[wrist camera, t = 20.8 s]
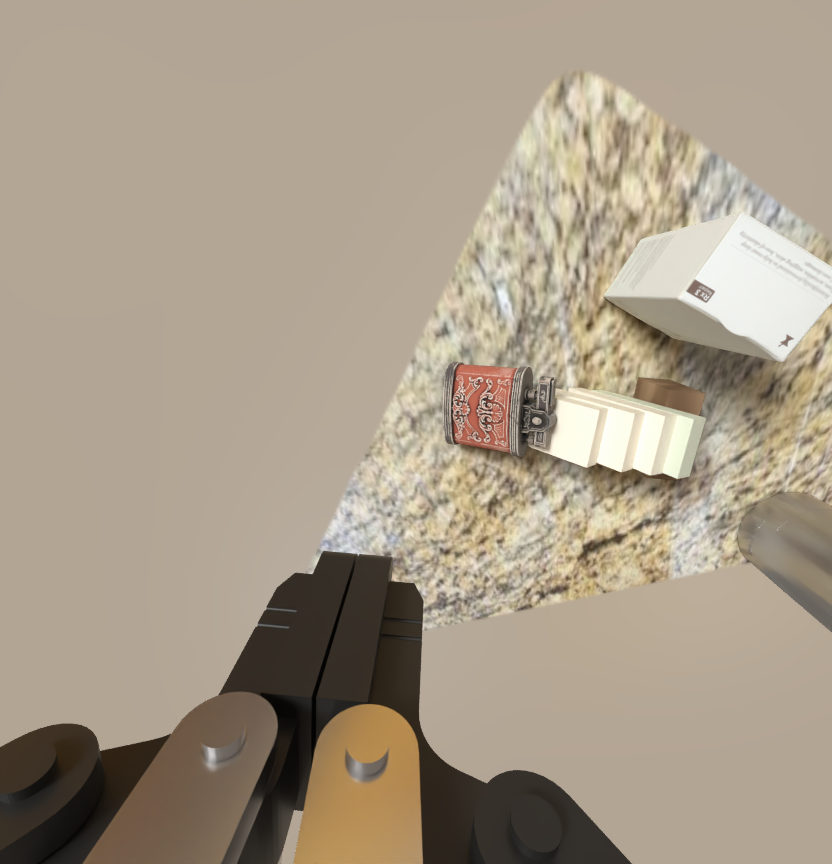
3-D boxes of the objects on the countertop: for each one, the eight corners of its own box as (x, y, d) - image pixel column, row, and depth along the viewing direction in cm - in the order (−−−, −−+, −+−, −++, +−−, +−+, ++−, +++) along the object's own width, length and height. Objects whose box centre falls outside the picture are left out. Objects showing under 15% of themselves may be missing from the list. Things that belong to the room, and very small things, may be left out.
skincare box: (712, 283, 40) (865, 277, 26) (669, 342, 41) (790, 367, 27) (635, 235, 39) (750, 202, 25) (595, 298, 41) (681, 300, 26)
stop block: (669, 379, 42) (705, 393, 37) (650, 456, 45) (681, 480, 39) (638, 377, 43) (669, 390, 37) (620, 454, 45) (647, 477, 39)
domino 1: (511, 383, 43) (608, 408, 36) (503, 431, 45) (595, 464, 38) (501, 384, 42) (599, 410, 35) (493, 433, 44) (586, 467, 37)
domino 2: (547, 386, 43) (645, 412, 35) (539, 434, 45) (632, 469, 37) (537, 386, 42) (634, 413, 35) (529, 435, 44) (621, 472, 36)
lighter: (458, 438, 45) (556, 455, 40) (442, 447, 42) (544, 466, 37) (460, 360, 43) (563, 366, 38) (443, 363, 40) (551, 371, 35)
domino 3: (580, 387, 43) (678, 415, 35) (571, 435, 45) (662, 473, 36) (569, 388, 42) (665, 416, 34) (560, 437, 44) (650, 475, 36)
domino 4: (581, 439, 44) (677, 478, 35) (591, 390, 42) (694, 419, 34) (592, 438, 44) (689, 476, 36) (602, 389, 43) (706, 417, 34)
